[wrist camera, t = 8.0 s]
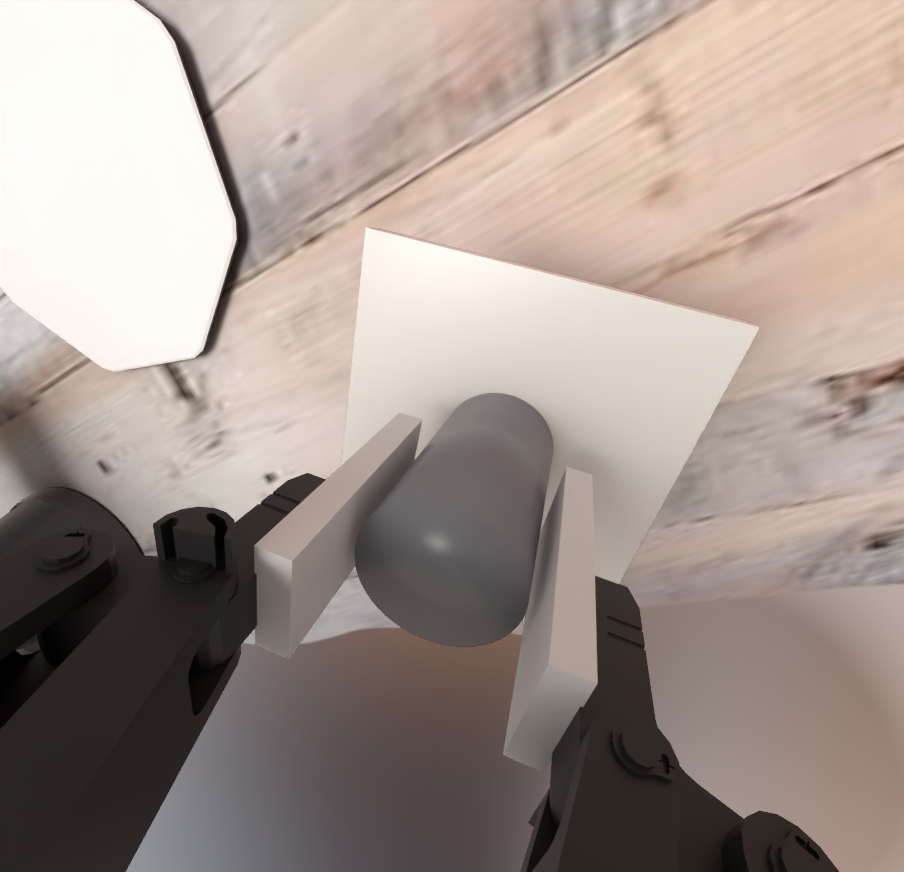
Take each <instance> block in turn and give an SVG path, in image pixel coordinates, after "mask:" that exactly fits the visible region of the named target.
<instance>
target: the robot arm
mask: <svg viewBox="0 0 904 872" xmlns="http://www.w3.org/2000/svg"><path fill="white" fill-rule="evenodd" d="M421 424H422V419H419V418H415V417H412V416H409V415H406V414H403V413H400V412H399V413H398V414H397V415H396V416H395V417H394V418H393V419H392V420H391V421H390V422H389V423H387V424H386V425H385V426H384V427H383V428H382V429H381V430H380V431H379V432H378V433H377V434H375V435H374V436H373V437H372V438H371V439H370V440H369V441H368V442H367V443H366V444H365V445H363V446H362V447H361V448H360V449H359V450H358V451H357V452H356V453H355V454H354V455H352V456H351V457H350V458H349V459H348V460H347V461H346V462H345V463H344V464H343V465H342V466H340V467H339V468H338V469H337V470H336V471H335V472H334V473H333V474H332V475H331V476H330V477H328V478H327V479H326V480H325V479H323V478H320V477H317V476H314V475H312V474H309V473H306V474H304V475H301V476H298V477H296V478H293V479H290V480H288V481H287V482H285V483H284V484H283V485H282V486H280V487H279V488H278V489H277V490H275V491H274V492H273V494H272V495H271V494H270V495H269V496H268V497H267V498H265V499H264V500H263V501H262V502H261V504H258V505H257V506H255V507H254V508H253V509H252V510H250V511H249V512H248V513H247V514H245V515H244V516H243V517H242V518H240V519H239V520H238V521H237V522H234V519H233V518H232V517H231V516H230V515H228V514H227V513H226V512H224V511H221V510H218V509H215V508H207V507H194V508H187V509H181V510H179V511H176V512H173V513H170V514H168V515H165V516H164V517H162V518H161V519H160V520H158V521H157V522H155V523H154V524H153V528H154V534H155V541H156V547H157V553H158V557H154V556H144V555H142V554H141V552H140V550H139V549H138V547H137V545H136V543H135V542H134V540H133V539H132V537H131V536H130V535H129V533H128V532H127V531H126V530H125V529H124V527H123V526H122V525H121V524H120V523H119V522H118V521H117V520H116V519H115V518H114V517H113V516H112V515H111V514H110V513H109V512H108V511H106V510H105V509H104V508H103V507H101V506H100V505H99V504H97V503H96V502H94V501H93V500H91V499H90V498H88V497H86V496H84V495H82V494H80V493H78V492H75V491H73V490H70V489H66V488H61V487H51V488H47V489H44V490H42V491H40V492H38V493H36V494H33V495H31V496H29V497H27V498H25V499H23V500H21V501H20V502H18V503H17V504H16V505H15V506H14V507H13V508H12V509H11V510H10V512H9V513H8V514H6V515H5V516H4V517H2V518H1V519H0V872H126V870H127V868H128V866H129V864H130V863H131V861H132V859H133V857H134V855H135V853H136V852H137V850H138V848H139V845H140V844H141V842H142V840H143V838H144V837H145V835H146V833H147V831H148V829H149V827H150V826H151V824H152V822H153V820H154V818H155V816H156V814H157V813H158V811H159V809H160V807H161V805H162V803H163V801H164V800H165V798H166V796H167V794H168V792H169V790H170V788H171V787H172V785H173V783H174V781H175V779H176V777H177V775H178V774H179V772H180V770H181V768H182V766H183V764H184V763H185V761H186V759H187V757H188V755H189V753H190V751H191V750H192V748H193V746H194V744H195V742H196V740H197V739H198V737H199V735H200V733H201V731H202V729H203V727H204V725H205V724H206V722H207V720H208V718H209V716H210V714H211V712H212V711H213V709H214V707H215V705H216V703H217V701H218V700H219V698H220V696H221V694H222V692H223V690H224V688H225V687H226V685H227V683H228V681H229V679H230V677H231V675H232V674H233V672H234V670H235V668H236V666H237V664H238V661H239V658H240V655H241V644H242V643H243V641H244V640H245V639H246V638H247V637H248V636H249V634H250V633H251V632H252V631H253V630H254V629H255V637H256V646H259V647H261V648H263V649H265V650H268V651H270V652H272V653H274V654H277V655H279V656H281V657H283V658H286V659H289V658H290V657H291V655H292V654H293V652H294V651H295V650H296V648H297V647H298V645H299V644H300V643H301V641H302V640H303V638H304V637H305V636H306V634H307V633H308V631H309V630H310V629H311V627H312V626H313V624H314V623H315V622H316V620H317V619H318V617H319V616H320V615H321V613H322V612H323V610H324V609H325V607H326V606H327V605H328V603H329V602H330V600H331V599H332V598H333V596H334V595H335V593H336V592H337V591H338V589H339V588H340V586H341V585H342V584H343V582H344V581H345V579H346V578H347V577H348V575H349V574H350V572H351V571H352V570H353V568H354V567H355V557H354V554H355V544H356V540H357V537H358V534H359V532H360V530H361V528H362V527H363V525H364V524H365V522H366V521H367V520H368V519H369V517H370V516H371V515H372V514H373V512H374V511H375V510H376V509H377V507H378V506H379V505H380V504H381V502H382V501H383V500H384V498H385V497H386V496H387V495H388V493H389V492H390V491H391V490H392V488H393V487H394V486H395V485H396V483H397V482H398V481H399V480H400V478H401V477H402V476H403V475H404V473H405V472H406V471H407V469H408V468H409V467H410V466H411V464H412V463H413V462H414V460H415V455H416V450H417V445H418V439H419V434H420V429H421ZM641 631H642V624H641V617H640V610H639V607H638V605H637V603H636V601H635V600H634V598H633V596H632V594H631V593H630V591H629V589H628V587H625V586H623V585H620V584H617V583H614V582H612V581H609V580H606V579H603V578H600V577H598V576H595V558H594V518H593V478H592V474H588V473H585V472H582V471H579V470H576V469H573V468H570V467H567V466H566V469H565V471H564V474H563V477H562V479H561V482H560V484H559V487H558V489H557V492H556V494H555V497H554V499H553V502H552V504H551V507H550V509H549V512H548V514H547V517H546V519H545V522H544V524H543V527H542V529H541V532H540V536H539V542H538V548H537V554H536V561H535V567H534V573H533V579H532V585H531V591H530V598H529V604H528V607H527V610H526V617H525V623H524V629H523V635H522V641H521V648H520V654H519V660H518V666H517V672H516V678H515V684H514V691H513V696H512V703H511V709H510V715H509V721H508V727H507V734H506V740H505V746H504V752H503V755H504V756H506V757H509V758H511V759H513V760H515V761H518V762H520V763H522V764H525V765H527V766H529V767H531V768H533V769H536V770H538V771H540V772H542V773H543V772H544V770H545V769H546V767H547V765H548V764H549V762H550V760H551V759H552V766H551V780H550V788H549V790H548V792H547V793H546V795H545V796H544V798H543V799H542V801H541V803H540V804H539V805H538V807H537V809H536V810H535V812H534V814H533V815H532V817H531V819H530V821H529V822H528V823H529V824H531V825H532V826H533V827H534V829H533V832H532V835H531V839H530V842H529V845H528V848H527V852H526V855H525V858H524V862H523V865H522V868H521V872H839V871H838V869H837V868H836V867H835V866H834V865H833V863H832V862H831V860H830V859H829V858H828V857H827V855H826V854H825V853H824V852H823V850H822V849H821V848H820V847H819V846H818V845H817V844H816V843H815V842H814V841H813V840H812V839H811V838H810V837H809V836H808V835H807V834H805V833H804V832H803V831H802V830H801V829H800V828H799V827H798V826H796V825H794V824H793V823H791V822H789V821H788V820H786V819H784V818H783V817H781V816H779V815H777V814H772V813H768V812H763V811H758V812H756V813H754V814H751V815H749V816H747V817H746V818H745V819H743V818H742V817H741V816H739V815H738V814H737V813H735V812H734V811H733V810H731V809H730V808H729V807H727V806H726V805H725V804H723V803H722V802H721V801H719V800H718V799H717V798H715V797H714V796H713V795H711V794H710V793H709V792H708V791H706V790H705V789H704V788H702V787H701V786H700V785H699V784H697V783H696V782H695V781H694V780H693V779H692V778H690V777H689V776H688V775H687V774H686V773H685V772H684V770H683V769H682V768H681V767H680V766H679V762H678V759H677V757H676V755H675V753H674V751H673V749H672V746H671V744H670V743H669V741H668V740H667V739H666V737H665V736H664V735H663V734H662V732H661V731H660V730H659V729H658V727H657V724H656V720H655V714H654V707H653V700H652V693H651V686H650V679H649V673H648V665H647V659H646V652H645V650H644V638H643V633H642V632H641Z"/></svg>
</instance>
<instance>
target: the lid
mask: <svg viewBox="0 0 904 872" xmlns="http://www.w3.org/2000/svg"><path fill="white" fill-rule="evenodd" d="M759 328H760V327H758V326H756V325H754V324H752V323H750V322H748V321H744V320H740V319H736V318H732V317H728V316H724V315H720V314H716V313H712V312H708V311H704V310H700V309H696V308H692V307H689V306H685V305H681V304H677V303H673V302H669V301H665V300H661V299H657V298H653V297H649V296H645V295H641V294H637V293H633V292H629V291H625V290H621V289H617V288H613V287H609V286H605V285H601V284H597V283H593V282H590V281H586V280H582V279H578V278H574V277H570V276H566V275H562V274H558V273H554V272H550V271H546V270H542V269H538V268H534V267H530V266H526V265H522V264H518V263H514V262H510V261H506V260H502V259H498V258H494V257H491V256H487V255H483V254H479V253H475V252H471V251H467V250H463V249H459V248H455V247H451V246H447V245H443V244H439V243H435V242H431V241H427V240H423V239H419V238H415V237H411V236H407V235H403V234H399V233H396V232H392V231H388V230H384V229H380V228H367V227H366V231H365V240H364V250H363V260H362V269H361V279H360V289H359V299H358V308H357V318H356V328H355V337H354V347H353V357H352V367H351V376H350V386H349V396H348V405H347V415H346V425H345V434H344V444H343V454H342V464H341V466H342V465H343V464H344V463H345V462H346V461H347V460H348V459H349V458H350V457H351V456H352V455H354V454H355V453H356V452H357V451H358V450H359V449H360V448H361V447H362V446H363V445H365V444H366V443H367V442H368V441H369V440H370V439H371V438H372V437H373V436H374V435H375V434H377V433H378V432H379V431H380V430H381V429H382V428H383V427H384V426H385V425H386V424H387V423H389V422H390V421H391V420H392V419H393V418H394V417H395V416H396V415H397V414H398V413H399V412H400V413H403V414H406V415H409V416H412V417H415V418H419V419H422V424H421V429H420V434H419V439H418V445H417V450H416V455H415V460H414V462H413V463H412V464H411V466H410V467H409V468H408V469H407V471H406V472H405V473H404V475H403V476H402V477H401V478H400V480H399V481H398V482H397V483H396V485H395V486H394V487H393V488H392V490H391V491H390V492H389V493H388V495H387V496H386V497H385V498H384V500H383V501H382V502H381V504H380V505H379V506H378V507H377V509H376V510H375V511H374V512H373V514H372V515H371V516H370V517H369V519H368V520H367V521H366V522H365V524H364V525H363V527H362V528H361V530H360V532H359V534H358V537H357V540H356V544H355V554H354V557H355V566H356V570H357V574H358V576H359V579H360V582H361V584H362V586H363V588H364V589H365V591H366V593H367V594H368V596H369V597H370V599H371V600H372V601H373V603H374V604H375V605H376V606H377V607H378V608H379V609H380V610H381V611H382V612H383V613H384V614H385V615H386V616H387V617H388V618H389V619H390V620H392V621H393V622H394V623H396V624H397V625H399V626H400V627H401V628H403V629H405V630H407V631H408V632H410V633H412V634H414V635H416V636H418V637H420V638H423V639H426V640H428V641H431V642H435V643H438V644H442V645H448V646H456V647H475V646H481V645H486V644H489V643H493V642H495V641H497V640H500V639H502V638H503V637H505V636H507V635H508V634H510V633H511V632H512V631H513V630H514V629H515V628H516V627H517V626H518V625H519V623H520V622H521V621H522V619H523V617H524V615H525V613H526V610H527V607H528V604H529V598H530V591H531V585H532V579H533V573H534V567H535V561H536V554H537V548H538V542H539V536H540V532H541V529H542V527H543V524H544V522H545V519H546V517H547V514H548V512H549V509H550V507H551V504H552V502H553V499H554V497H555V494H556V492H557V489H558V487H559V484H560V482H561V479H562V477H563V474H564V471H565V469H566V466H567V467H570V468H573V469H576V470H579V471H582V472H585V473H588V474H592V478H593V518H594V558H595V576H598V577H600V578H603V579H606V580H609V581H612V582H614V583H617V584H619V583H620V581H621V579H622V578H623V576H624V574H625V572H626V570H627V568H628V567H629V565H630V563H631V561H632V559H633V558H634V556H635V554H636V552H637V550H638V548H639V547H640V545H641V543H642V541H643V539H644V538H645V536H646V534H647V532H648V530H649V528H650V527H651V525H652V523H653V521H654V519H655V518H656V516H657V514H658V512H659V510H660V508H661V507H662V505H663V503H664V501H665V499H666V498H667V496H668V494H669V492H670V490H671V488H672V487H673V485H674V483H675V481H676V479H677V478H678V476H679V474H680V472H681V470H682V468H683V467H684V465H685V463H686V461H687V459H688V458H689V456H690V454H691V452H692V450H693V448H694V447H695V445H696V443H697V441H698V439H699V438H700V436H701V434H702V432H703V430H704V428H705V427H706V425H707V423H708V421H709V419H710V418H711V416H712V414H713V412H714V410H715V408H716V407H717V405H718V403H719V401H720V399H721V398H722V396H723V394H724V392H725V390H726V388H727V387H728V385H729V383H730V381H731V379H732V378H733V376H734V374H735V372H736V370H737V368H738V367H739V365H740V363H741V361H742V359H743V358H744V356H745V354H746V352H747V350H748V348H749V347H750V345H751V343H752V341H753V339H754V338H755V336H756V334H757V332H758V330H759Z"/></svg>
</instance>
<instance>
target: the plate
mask: <svg viewBox="0 0 904 872" xmlns="http://www.w3.org/2000/svg"><path fill="white" fill-rule="evenodd" d="M238 241H239V233H238V218H237V215H236V212H235V209H234V207H233V204H232V201H231V198H230V195H229V192H228V189H227V186H226V183H225V180H224V177H223V174H222V171H221V169H220V166H219V163H218V160H217V157H216V154H215V151H214V148H213V145H212V142H211V139H210V136H209V133H208V130H207V128H206V125H205V122H204V119H203V116H202V113H201V110H200V107H199V104H198V101H197V98H196V95H195V92H194V90H193V87H192V84H191V81H190V78H189V75H188V72H187V69H186V66H185V63H184V60H183V57H182V54H181V51H180V49H179V46H178V43H177V42H176V40H175V39H174V37H173V36H172V34H171V33H170V31H169V30H168V28H167V27H166V25H165V24H164V22H163V21H162V20H160V19H159V18H158V17H156V16H155V15H154V14H152V13H151V12H150V11H148V10H147V9H146V8H144V7H143V6H142V5H140V4H139V3H138V2H136V1H135V0H0V286H1V288H2V290H3V291H4V292H5V293H6V294H7V296H8V297H9V298H10V299H11V300H12V301H13V303H15V304H16V305H17V306H19V307H20V308H22V309H23V310H24V311H26V312H27V313H28V314H30V315H31V316H32V317H34V318H35V319H37V320H38V321H39V322H41V323H42V324H43V325H45V326H46V327H47V328H49V329H50V330H51V331H53V332H54V333H56V334H57V335H58V336H60V337H61V338H62V339H64V340H65V341H66V342H68V343H69V344H71V345H72V346H73V347H75V348H76V349H77V350H79V351H80V352H81V353H83V354H84V355H86V356H87V357H88V358H90V359H91V360H92V361H94V362H95V363H96V364H98V365H99V366H100V367H102V368H104V369H107V370H110V371H113V372H118V371H123V370H129V369H135V368H141V367H146V366H152V365H158V364H163V363H169V362H175V361H181V360H186V359H192V358H196V357H198V356H199V355H200V354H201V353H202V352H203V351H204V350H205V348H206V345H207V342H208V338H209V335H210V332H211V329H212V325H213V322H214V319H215V316H216V312H217V309H218V306H219V302H220V299H221V296H222V293H223V289H224V286H225V283H226V280H227V276H228V273H229V270H230V267H231V263H232V260H233V257H234V254H235V250H236V247H237V244H238Z"/></svg>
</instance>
